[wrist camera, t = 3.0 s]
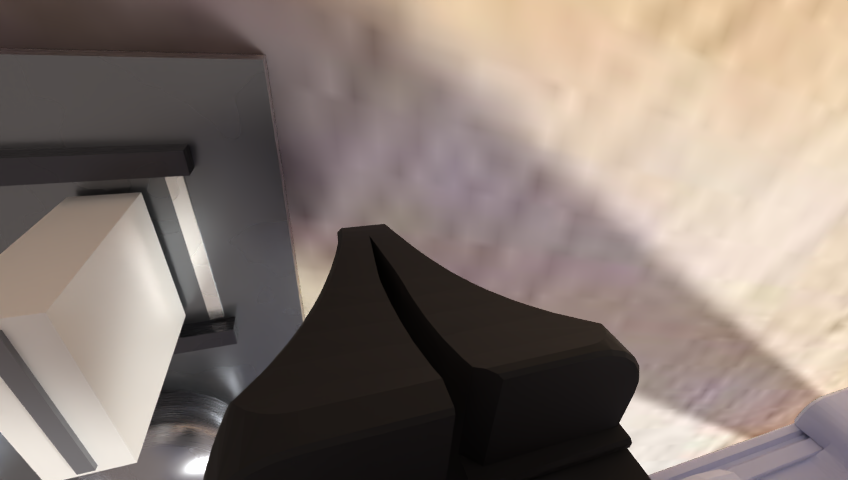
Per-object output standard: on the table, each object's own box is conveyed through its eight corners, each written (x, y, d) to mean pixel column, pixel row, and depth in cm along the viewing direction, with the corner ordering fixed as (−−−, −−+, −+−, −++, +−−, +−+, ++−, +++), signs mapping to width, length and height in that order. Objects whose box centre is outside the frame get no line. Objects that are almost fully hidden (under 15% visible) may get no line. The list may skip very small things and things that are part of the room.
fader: (185, 315, 11) (135, 467, 8) (127, 324, 11) (43, 489, 7) (141, 191, 9) (41, 317, 6) (67, 197, 9) (-95, 335, 5)
